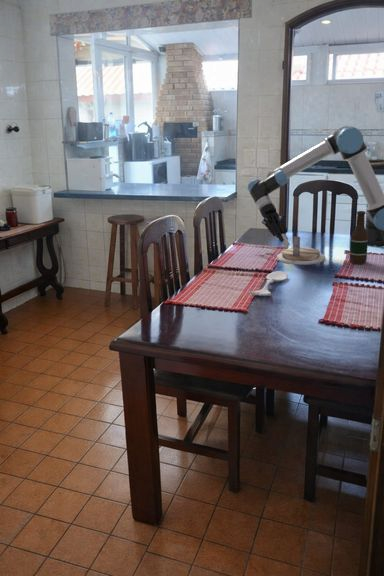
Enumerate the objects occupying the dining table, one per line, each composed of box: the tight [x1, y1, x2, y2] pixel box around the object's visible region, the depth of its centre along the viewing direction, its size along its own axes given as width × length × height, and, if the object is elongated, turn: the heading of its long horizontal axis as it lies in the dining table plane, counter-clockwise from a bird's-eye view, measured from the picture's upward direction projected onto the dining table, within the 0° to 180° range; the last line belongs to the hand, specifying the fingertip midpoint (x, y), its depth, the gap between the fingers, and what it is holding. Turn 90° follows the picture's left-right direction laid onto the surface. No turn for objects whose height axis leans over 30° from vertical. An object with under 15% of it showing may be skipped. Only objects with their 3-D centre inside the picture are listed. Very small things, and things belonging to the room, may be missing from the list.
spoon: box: [247, 270, 289, 297], centre depth 211 cm, size 9×32×4 cm, turn 156°
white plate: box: [276, 252, 326, 266], centre depth 251 cm, size 23×23×1 cm
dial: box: [281, 236, 321, 261], centre depth 249 cm, size 18×18×11 cm
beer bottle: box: [349, 210, 369, 265], centre depth 237 cm, size 8×8×24 cm
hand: (287, 246), depth 247 cm, fingers closed
